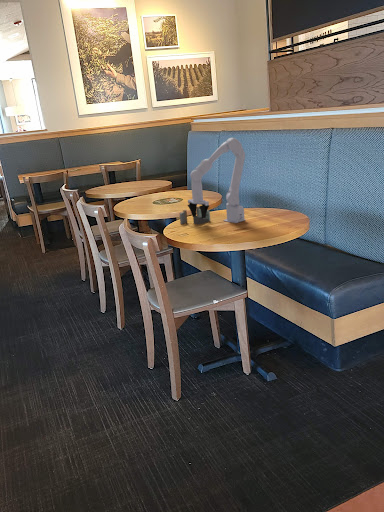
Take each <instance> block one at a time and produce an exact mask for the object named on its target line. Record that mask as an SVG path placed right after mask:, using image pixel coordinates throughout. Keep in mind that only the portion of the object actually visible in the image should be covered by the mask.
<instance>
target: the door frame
mask: <svg viewBox="0 0 384 512" xmlns="http://www.w3.org/2000/svg"><path fill="white" fill-rule="evenodd" d="M199 206H200V205H197V207H196V216H198V209H200V207H199ZM179 222H180V224H181V225H183V224H187V223H188V214H187V209H182V212H180V213H179Z"/></svg>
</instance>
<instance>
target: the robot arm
mask: <svg viewBox="0 0 384 512" xmlns="http://www.w3.org/2000/svg"><path fill="white" fill-rule="evenodd" d="M229 151H231V152H232V154H233V156H235V160H234V163H233V164H234V165H233V170H232V175H231V180H230V184H229V187H228V188H229V189H228V191H227V192H226V195H225V200H226V201H227V203H225V204H226V205H225V206H226V207H225V209H226V211H225V212H226V219H223V222H229V223H234V224H239V223H241V222H243V221H246V218H245V208H244V206H242V205H240V197H239V196H240V185H241V179H242V175H243V169H244V163H245V159H246V153H245V151H244V148H243V145H242V143H241V142H240V140H238V138H235V137H229V138H227V140H226V141H224V142H222V144H220V145H219V146H218V148H217V149H216V150H215V151H214V152H213V153H212V154H211V155H210V157H208V158H205V159H202V160H201V161H200V163H199V164H198V165H197V167H196V166H195V167H194V169H193V170H192V171H191V172H190V175H189V176H190V179H191V183H190V185H191V196H192V198H191V199H187V203H188V204H187V207H188V208H189V210H190V213H191V215H192V218H193V217H194V216H197V209H196V207H197V206H199V207H200V210H201V214H202V218H206V213H207V210H208V209H209V208H210V202H209V201H207V200H204V194H203V183H202V178H203V177H204V176H205V175H206V174H207V173H208V172H209V171H210V170H211V169H212V168H213V163H214V162H216V160H218V159H219V158H220V156H221V157H222V155H223V154H225V153H229ZM208 211H209V210H208Z"/></svg>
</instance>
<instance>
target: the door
mask: <svg viewBox="0 0 384 512" xmlns="http://www.w3.org/2000/svg"><path fill="white" fill-rule="evenodd" d="M198 216H202V214H201V210H200V209H198ZM206 219H209V220H210V221H211V211H210V210H207V213H206Z"/></svg>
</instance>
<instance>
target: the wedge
mask: <svg viewBox="0 0 384 512" xmlns="http://www.w3.org/2000/svg"><path fill="white" fill-rule="evenodd" d="M192 218H193V219H192V220H193V224H195V225H203V224H205V223H208V222H209V223H210V221H211V219H210V220H209V219H206V218H202V216H197V215H196V216H194V217H193V216H192Z"/></svg>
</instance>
